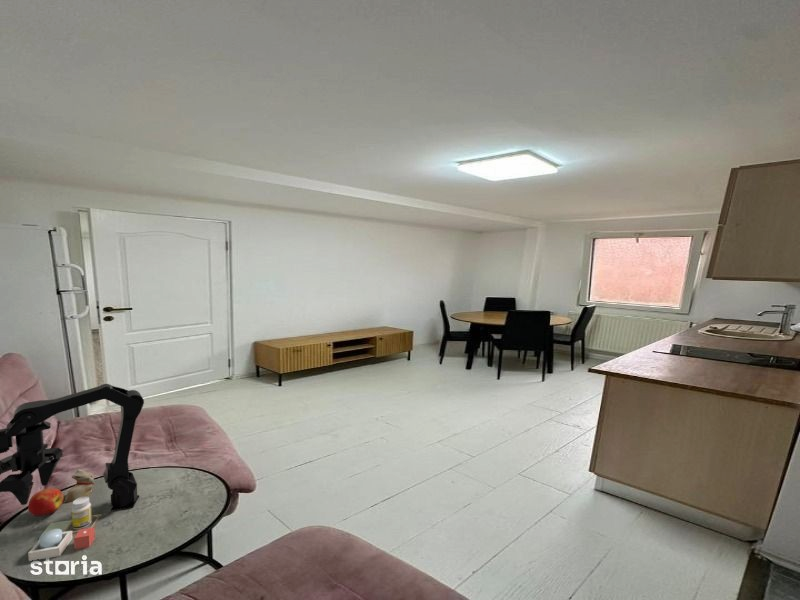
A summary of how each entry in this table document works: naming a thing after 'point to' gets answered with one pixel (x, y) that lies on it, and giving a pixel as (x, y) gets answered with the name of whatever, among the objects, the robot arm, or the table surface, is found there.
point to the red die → (84, 538)
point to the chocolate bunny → (80, 485)
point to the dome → (50, 538)
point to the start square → (90, 527)
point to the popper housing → (50, 552)
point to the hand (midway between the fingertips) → (34, 494)
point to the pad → (58, 526)
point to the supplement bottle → (81, 513)
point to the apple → (45, 502)
